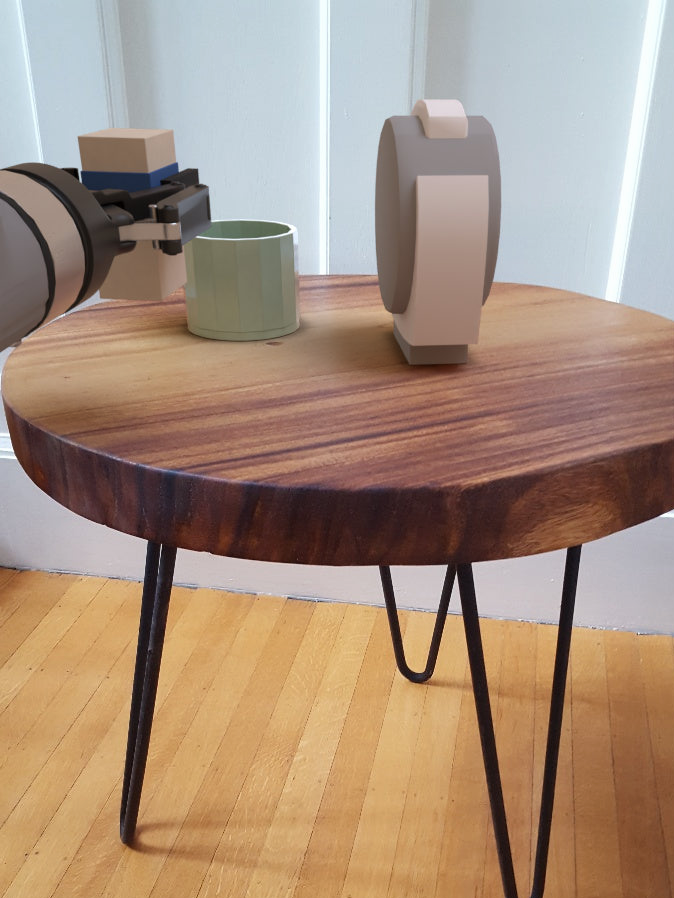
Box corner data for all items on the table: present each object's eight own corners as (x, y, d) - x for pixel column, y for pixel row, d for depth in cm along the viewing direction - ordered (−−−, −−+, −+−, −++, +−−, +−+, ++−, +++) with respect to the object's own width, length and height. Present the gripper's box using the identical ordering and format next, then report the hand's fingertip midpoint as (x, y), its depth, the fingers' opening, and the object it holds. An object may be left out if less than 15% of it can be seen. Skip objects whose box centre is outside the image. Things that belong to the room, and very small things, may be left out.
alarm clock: (493, 375, 83) (514, 107, 72) (396, 377, 82) (402, 106, 71) (453, 322, 98) (466, 93, 87) (371, 324, 97) (373, 93, 86)
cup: (173, 338, 92) (162, 237, 87) (205, 310, 101) (197, 217, 96) (287, 343, 91) (283, 241, 86) (308, 314, 100) (306, 221, 95)
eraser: (97, 299, 67) (74, 136, 61) (128, 279, 72) (109, 127, 66) (163, 302, 66) (145, 138, 61) (189, 282, 71) (175, 129, 66)
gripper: (-117, 314, 54) (52, 238, 73) (189, 329, 52) (279, 247, 71) (-157, 164, 50) (33, 126, 69) (175, 175, 48) (275, 132, 67)
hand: (158, 188), depth 70 cm, fingers closed on eraser, 5 cm apart
